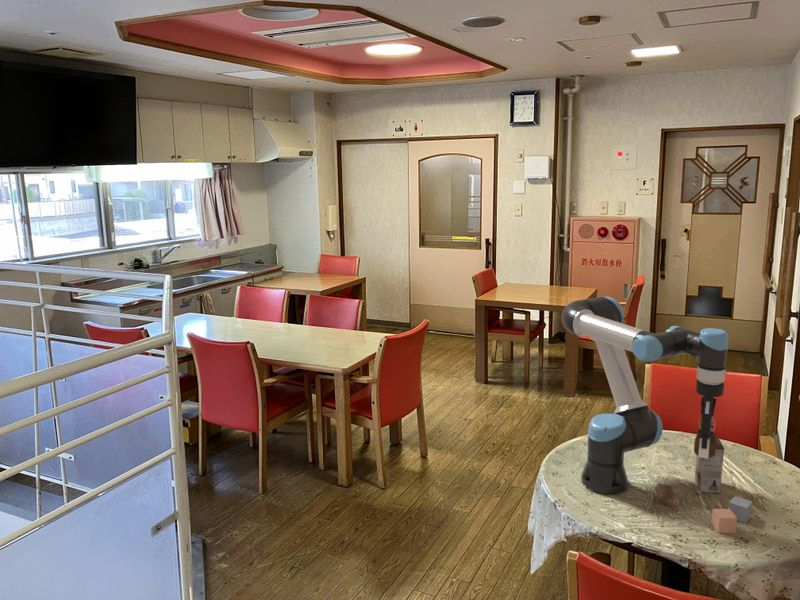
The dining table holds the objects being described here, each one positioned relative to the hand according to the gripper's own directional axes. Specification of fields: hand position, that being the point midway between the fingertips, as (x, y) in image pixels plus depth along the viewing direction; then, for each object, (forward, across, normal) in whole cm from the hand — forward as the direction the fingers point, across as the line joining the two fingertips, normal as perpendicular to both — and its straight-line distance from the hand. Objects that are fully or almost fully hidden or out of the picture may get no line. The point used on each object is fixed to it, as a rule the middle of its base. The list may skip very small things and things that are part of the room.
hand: (704, 452), depth 200 cm
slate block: (+20, +3, -11) cm, 23 cm away
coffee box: (+20, +19, -1) cm, 28 cm away
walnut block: (+20, +2, +10) cm, 23 cm away
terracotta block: (+20, -6, -7) cm, 22 cm away
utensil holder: (+1, 0, 0) cm, 1 cm away
